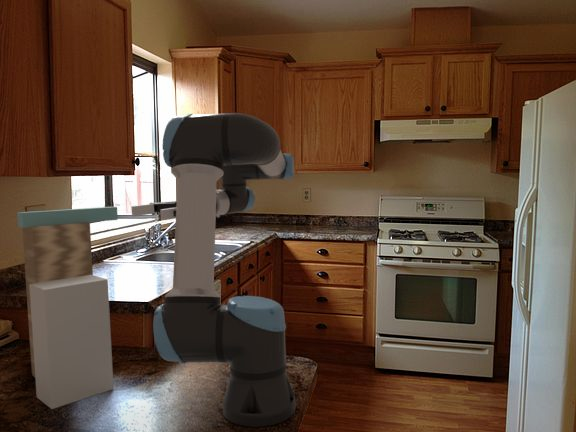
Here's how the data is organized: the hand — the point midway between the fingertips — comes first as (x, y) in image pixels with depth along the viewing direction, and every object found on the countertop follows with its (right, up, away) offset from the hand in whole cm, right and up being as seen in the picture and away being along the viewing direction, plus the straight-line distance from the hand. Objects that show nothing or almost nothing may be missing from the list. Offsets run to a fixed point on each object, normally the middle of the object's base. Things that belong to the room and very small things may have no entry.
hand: (146, 213), depth 133 cm
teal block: (-19, -3, -2) cm, 19 cm away
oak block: (-20, -41, -2) cm, 46 cm away
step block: (-12, -42, -16) cm, 46 cm away
